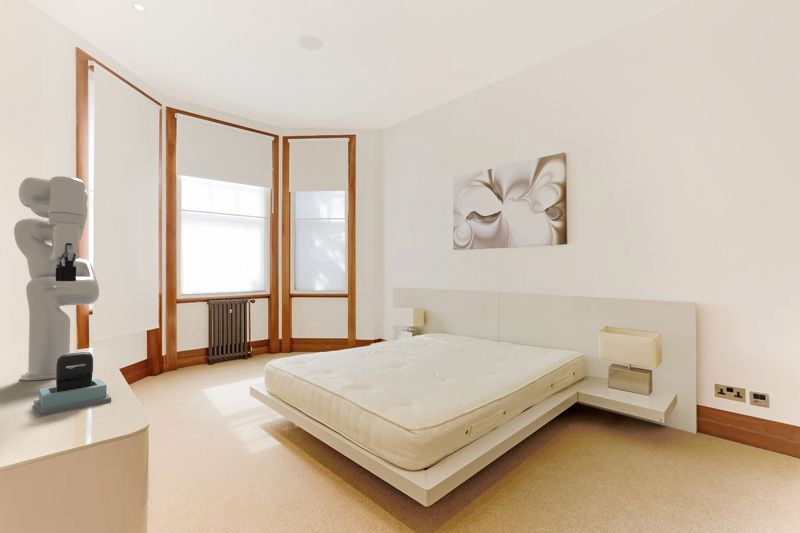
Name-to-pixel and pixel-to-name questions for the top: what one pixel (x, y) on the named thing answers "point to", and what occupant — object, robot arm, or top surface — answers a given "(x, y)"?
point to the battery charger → (74, 371)
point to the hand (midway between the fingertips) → (65, 281)
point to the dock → (70, 398)
